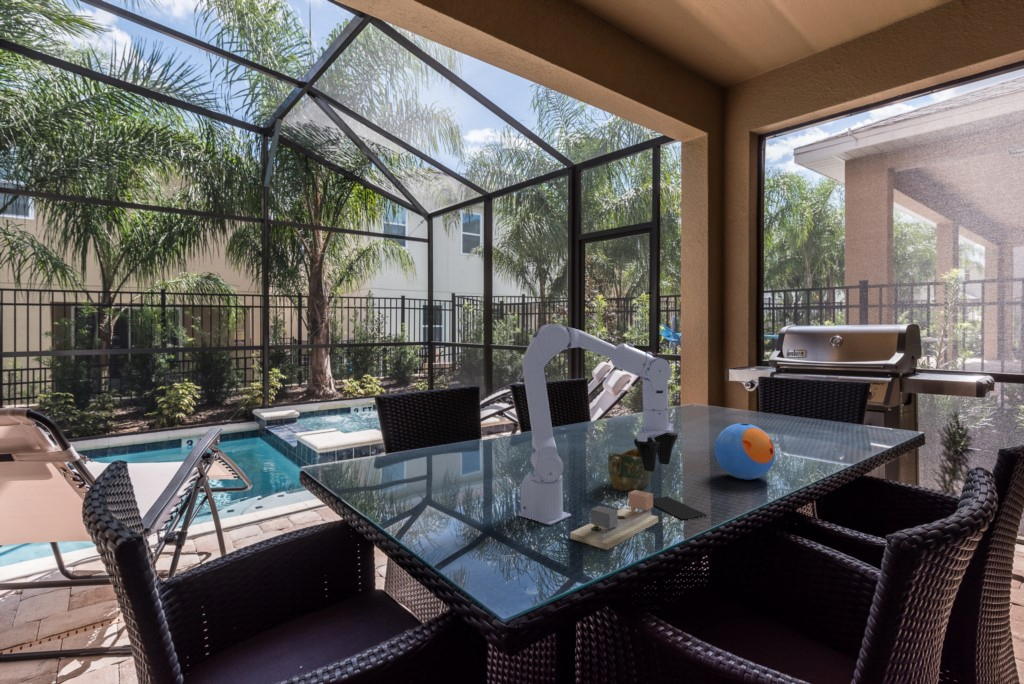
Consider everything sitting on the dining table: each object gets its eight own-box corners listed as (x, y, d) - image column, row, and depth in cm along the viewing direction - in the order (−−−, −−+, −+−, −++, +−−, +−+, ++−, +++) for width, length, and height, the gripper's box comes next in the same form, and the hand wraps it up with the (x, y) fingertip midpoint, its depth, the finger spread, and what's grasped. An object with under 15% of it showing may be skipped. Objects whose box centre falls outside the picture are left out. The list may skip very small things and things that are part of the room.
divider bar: (597, 539, 106) (597, 533, 106) (646, 514, 120) (646, 509, 120) (602, 541, 106) (602, 535, 106) (651, 515, 119) (651, 510, 119)
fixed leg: (590, 529, 111) (589, 509, 111) (598, 525, 113) (598, 505, 113) (609, 534, 108) (609, 514, 108) (617, 530, 110) (617, 510, 110)
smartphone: (682, 519, 119) (643, 499, 133) (682, 523, 119) (643, 503, 133) (707, 514, 121) (667, 496, 136) (707, 518, 122) (667, 499, 136)
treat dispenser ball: (747, 469, 161) (747, 418, 161) (788, 482, 146) (787, 426, 146) (703, 474, 156) (703, 421, 156) (741, 489, 142) (740, 430, 141)
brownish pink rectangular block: (627, 511, 122) (627, 492, 122) (634, 507, 124) (634, 489, 124) (646, 515, 118) (646, 496, 118) (653, 512, 121) (652, 493, 121)
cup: (585, 484, 148) (585, 448, 148) (641, 475, 157) (641, 440, 157) (616, 497, 137) (616, 458, 136) (674, 486, 146) (674, 449, 146)
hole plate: (570, 538, 110) (570, 532, 110) (622, 513, 125) (622, 507, 125) (607, 550, 104) (607, 543, 104) (658, 522, 119) (658, 516, 119)
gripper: (657, 414, 117) (658, 476, 117) (685, 406, 128) (686, 463, 128) (628, 412, 122) (629, 472, 122) (657, 404, 132) (658, 459, 133)
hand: (656, 467), depth 125 cm, fingers open, 7 cm apart
